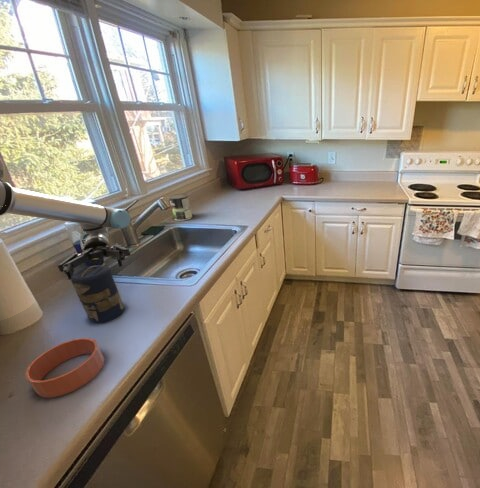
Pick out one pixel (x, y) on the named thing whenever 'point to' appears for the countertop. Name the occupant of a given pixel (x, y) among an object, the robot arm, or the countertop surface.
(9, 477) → the countertop surface
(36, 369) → the ring
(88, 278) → the canister
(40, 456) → the countertop surface
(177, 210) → the coffee can
